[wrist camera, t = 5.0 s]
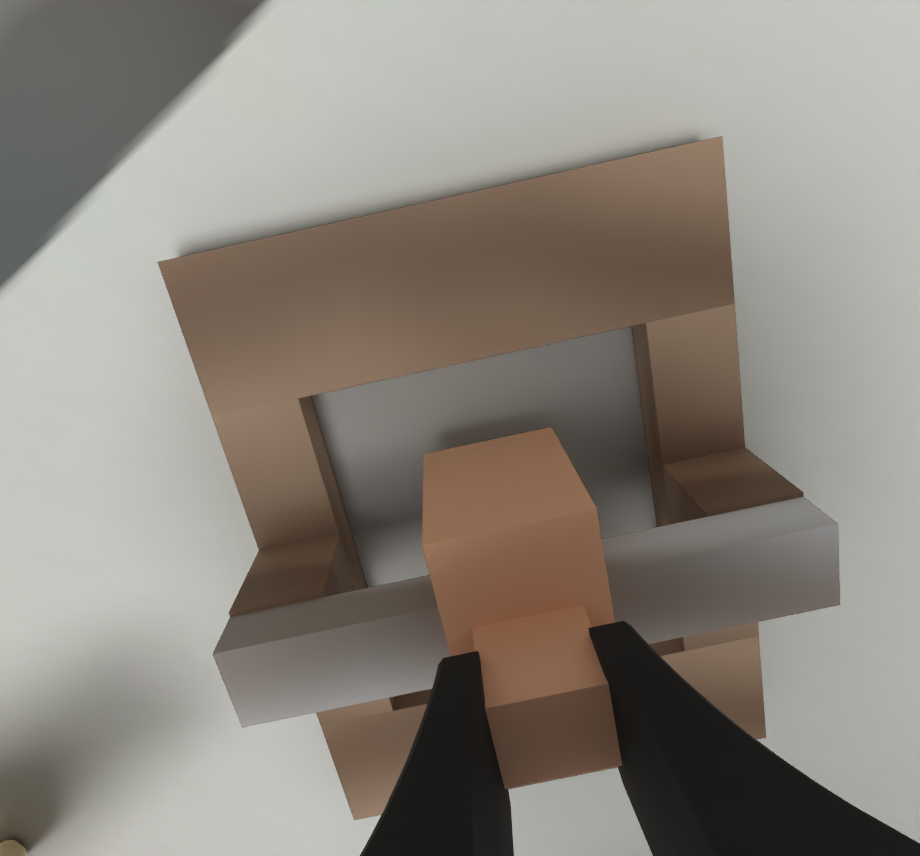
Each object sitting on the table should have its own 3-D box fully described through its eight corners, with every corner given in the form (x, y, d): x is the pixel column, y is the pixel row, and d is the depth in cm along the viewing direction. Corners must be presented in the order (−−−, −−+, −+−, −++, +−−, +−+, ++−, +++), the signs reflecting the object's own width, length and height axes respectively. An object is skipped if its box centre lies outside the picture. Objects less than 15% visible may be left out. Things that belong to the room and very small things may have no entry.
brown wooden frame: (746, 706, 20) (846, 864, 15) (358, 785, 20) (337, 963, 15) (699, 141, 15) (827, 112, 10) (178, 257, 15) (63, 282, 10)
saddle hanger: (584, 615, 17) (670, 841, 11) (469, 639, 17) (491, 877, 11) (551, 426, 15) (631, 572, 9) (423, 454, 15) (420, 615, 9)
